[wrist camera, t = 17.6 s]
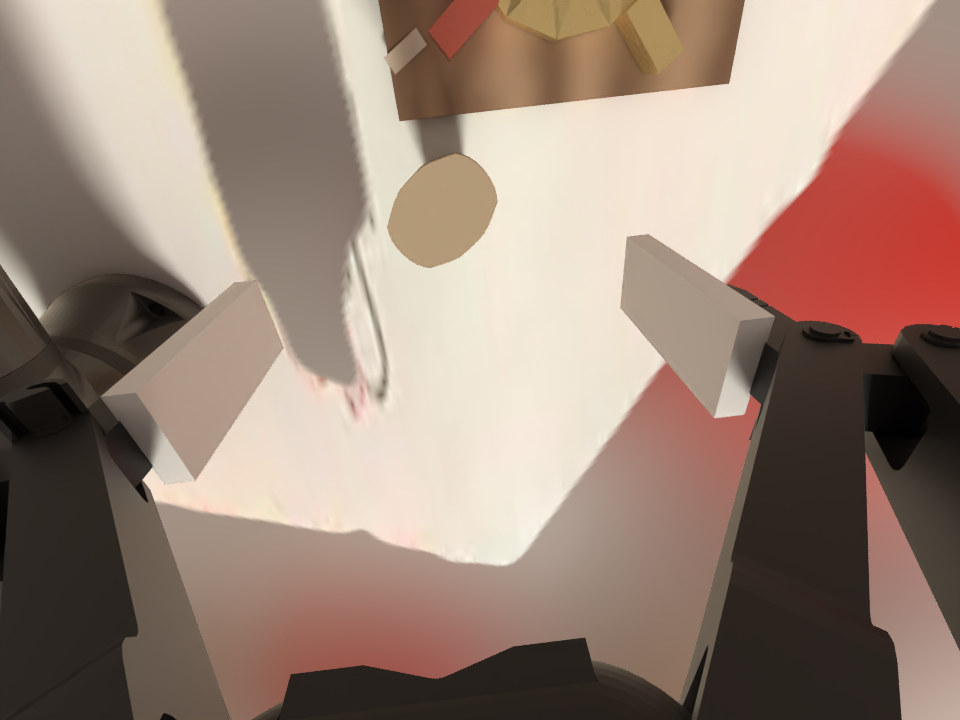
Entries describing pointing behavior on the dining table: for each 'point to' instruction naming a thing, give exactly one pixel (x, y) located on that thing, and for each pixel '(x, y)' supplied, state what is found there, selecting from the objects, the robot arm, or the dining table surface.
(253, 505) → the dining table surface
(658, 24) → the ring nut
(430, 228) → the handle
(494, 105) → the board
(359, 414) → the dining table surface
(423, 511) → the dining table surface
